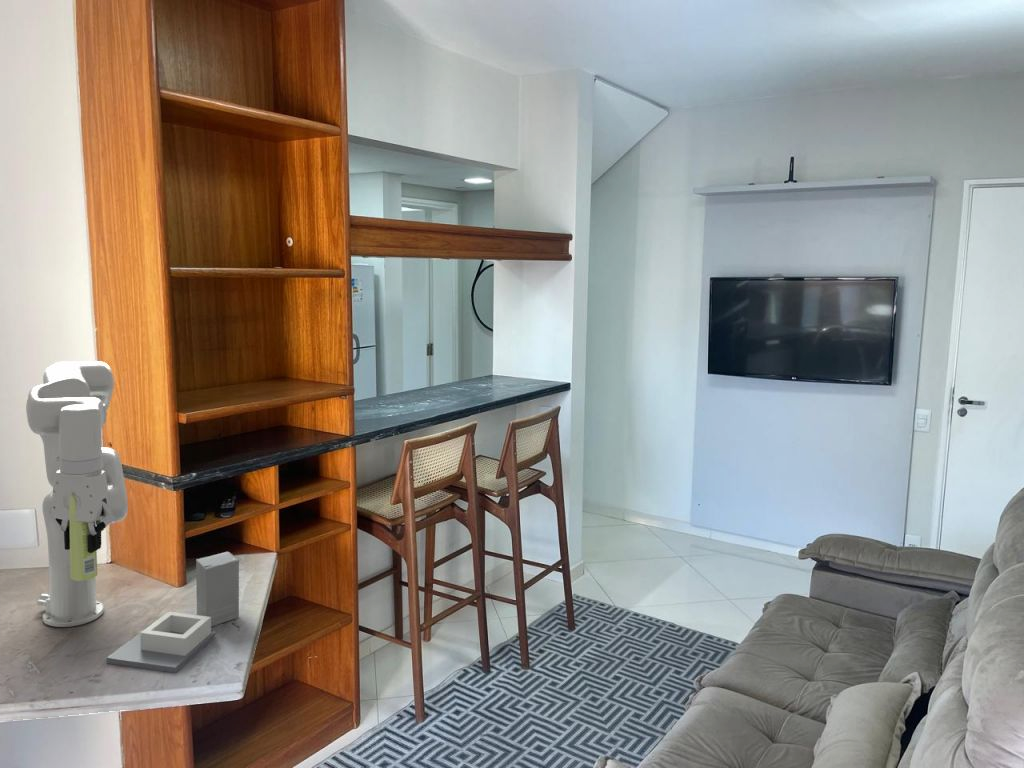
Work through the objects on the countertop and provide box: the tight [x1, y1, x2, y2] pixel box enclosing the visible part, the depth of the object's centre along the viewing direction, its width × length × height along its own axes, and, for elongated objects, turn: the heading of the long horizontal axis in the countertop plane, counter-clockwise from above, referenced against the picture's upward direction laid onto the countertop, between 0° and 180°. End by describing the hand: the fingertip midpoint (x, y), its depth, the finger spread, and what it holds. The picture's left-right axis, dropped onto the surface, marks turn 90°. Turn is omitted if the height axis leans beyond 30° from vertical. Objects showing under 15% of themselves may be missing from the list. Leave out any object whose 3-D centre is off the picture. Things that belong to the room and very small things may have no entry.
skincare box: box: [195, 551, 240, 627], centre depth 180 cm, size 8×7×16 cm
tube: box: [70, 486, 98, 581], centre depth 155 cm, size 6×5×20 cm
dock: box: [105, 611, 217, 674], centre depth 165 cm, size 16×16×5 cm
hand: (83, 548), depth 155 cm, fingers closed on tube, 4 cm apart
